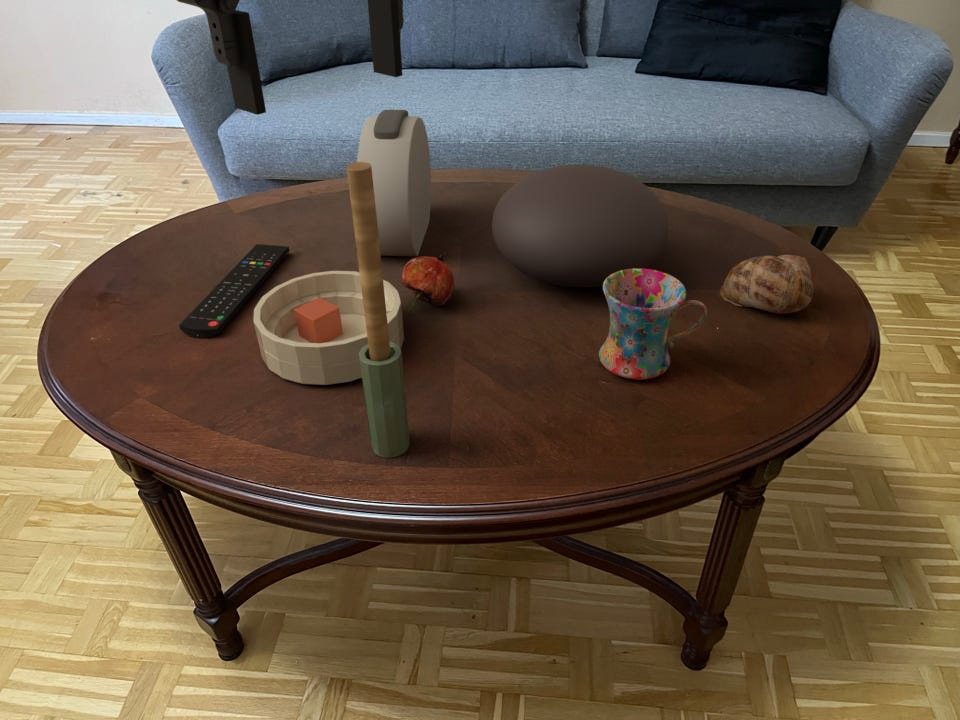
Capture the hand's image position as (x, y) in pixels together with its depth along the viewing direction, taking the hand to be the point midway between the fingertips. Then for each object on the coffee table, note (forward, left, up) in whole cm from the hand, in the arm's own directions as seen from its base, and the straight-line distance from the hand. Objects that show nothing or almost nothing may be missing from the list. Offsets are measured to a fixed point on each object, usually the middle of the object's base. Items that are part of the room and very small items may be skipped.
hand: (324, 91), depth 56 cm
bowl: (+8, +16, -36) cm, 40 cm away
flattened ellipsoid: (+44, +4, -36) cm, 57 cm away
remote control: (+8, +37, -36) cm, 53 cm away
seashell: (+53, -21, -36) cm, 68 cm away
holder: (0, -3, -36) cm, 36 cm away
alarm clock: (+35, +32, -36) cm, 60 cm away
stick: (0, -3, -36) cm, 36 cm away
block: (+8, +19, -35) cm, 41 cm away
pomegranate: (+23, +14, -36) cm, 45 cm away
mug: (+30, -16, -36) cm, 50 cm away
